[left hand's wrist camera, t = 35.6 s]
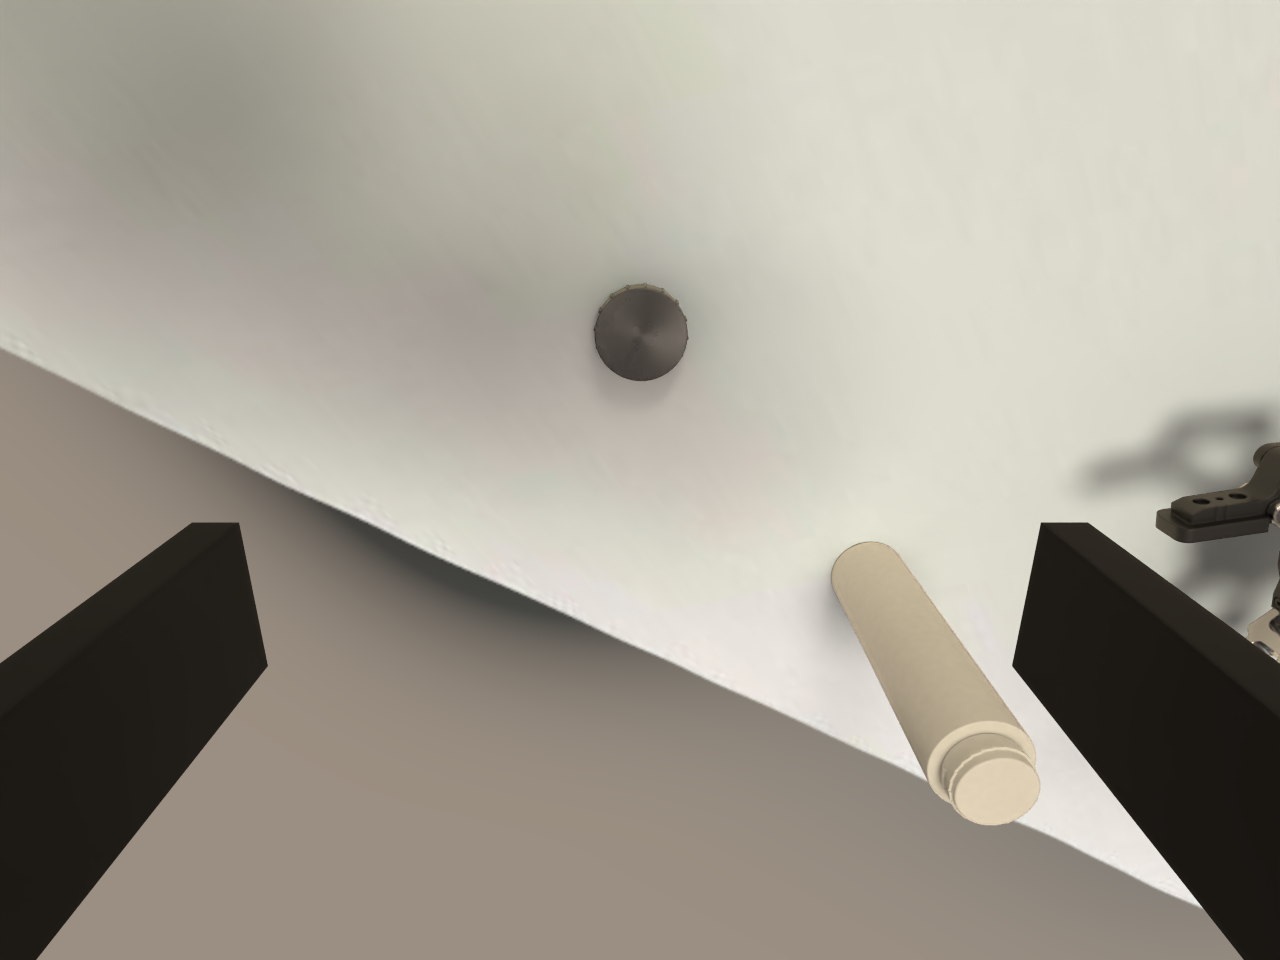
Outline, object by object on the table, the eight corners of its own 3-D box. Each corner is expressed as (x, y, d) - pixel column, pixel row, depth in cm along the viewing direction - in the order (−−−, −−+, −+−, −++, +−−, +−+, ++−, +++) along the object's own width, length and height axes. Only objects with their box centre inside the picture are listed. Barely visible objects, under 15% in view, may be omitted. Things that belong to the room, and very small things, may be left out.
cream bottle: (818, 563, 44) (922, 777, 28) (885, 529, 43) (1032, 729, 27) (849, 617, 45) (966, 852, 29) (915, 585, 44) (1071, 808, 28)
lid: (623, 389, 40) (622, 397, 39) (579, 311, 39) (576, 316, 37) (701, 348, 40) (704, 354, 38) (660, 266, 38) (661, 269, 37)
